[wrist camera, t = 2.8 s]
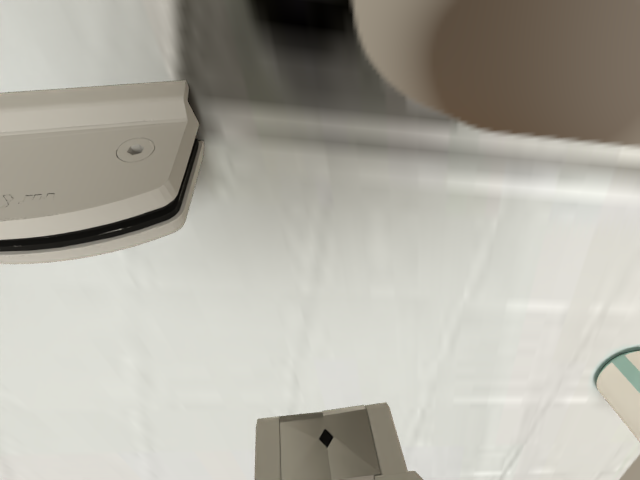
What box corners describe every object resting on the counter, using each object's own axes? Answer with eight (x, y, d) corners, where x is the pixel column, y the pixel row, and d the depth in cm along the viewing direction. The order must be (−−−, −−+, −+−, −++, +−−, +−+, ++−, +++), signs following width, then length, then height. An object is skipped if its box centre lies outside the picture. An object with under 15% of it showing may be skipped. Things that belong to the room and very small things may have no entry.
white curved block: (192, 79, 27) (179, 193, 21) (208, 140, 31) (200, 251, 25) (-90, 98, 26) (-191, 224, 20) (-38, 159, 30) (-110, 281, 24)
